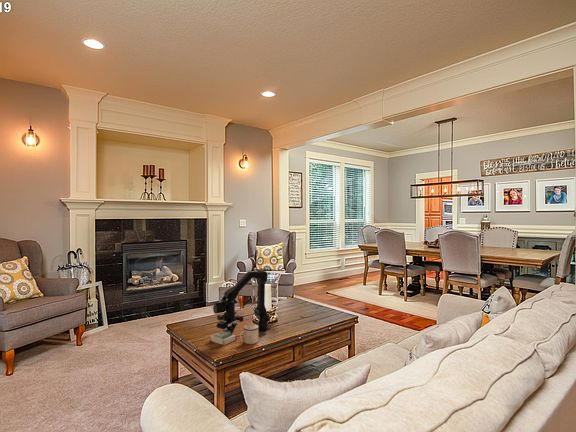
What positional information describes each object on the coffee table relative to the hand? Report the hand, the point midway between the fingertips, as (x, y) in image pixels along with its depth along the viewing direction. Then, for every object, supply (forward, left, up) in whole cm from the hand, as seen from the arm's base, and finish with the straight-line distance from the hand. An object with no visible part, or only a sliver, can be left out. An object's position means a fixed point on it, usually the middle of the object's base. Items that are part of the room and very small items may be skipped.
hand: (230, 335), depth 207 cm
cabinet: (+6, 0, -1) cm, 6 cm away
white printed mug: (0, +15, -1) cm, 15 cm away
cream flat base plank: (+7, 0, -1) cm, 7 cm away
